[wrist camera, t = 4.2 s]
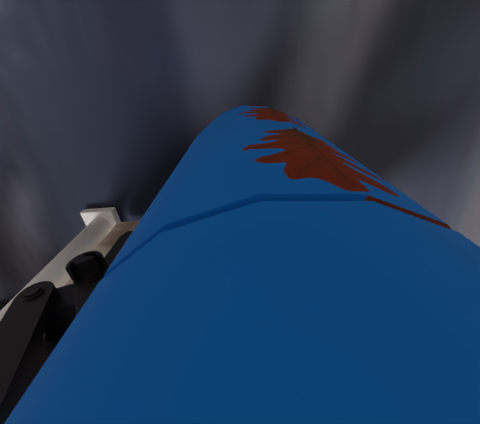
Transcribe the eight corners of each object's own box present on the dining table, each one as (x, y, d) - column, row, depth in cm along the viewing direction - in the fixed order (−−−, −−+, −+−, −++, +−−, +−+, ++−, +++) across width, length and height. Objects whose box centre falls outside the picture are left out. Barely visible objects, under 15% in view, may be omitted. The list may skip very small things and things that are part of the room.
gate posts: (96, 234, 32) (-14, 356, 18) (84, 209, 30) (-50, 324, 16) (339, 218, 30) (420, 338, 17) (343, 191, 28) (439, 301, 15)
